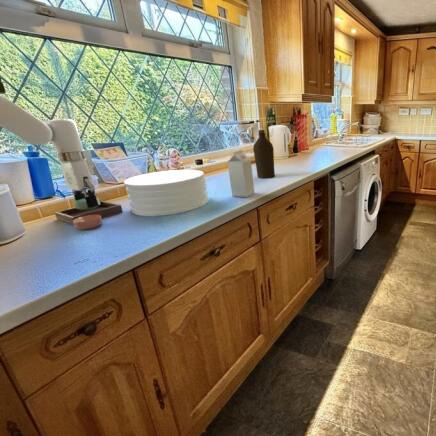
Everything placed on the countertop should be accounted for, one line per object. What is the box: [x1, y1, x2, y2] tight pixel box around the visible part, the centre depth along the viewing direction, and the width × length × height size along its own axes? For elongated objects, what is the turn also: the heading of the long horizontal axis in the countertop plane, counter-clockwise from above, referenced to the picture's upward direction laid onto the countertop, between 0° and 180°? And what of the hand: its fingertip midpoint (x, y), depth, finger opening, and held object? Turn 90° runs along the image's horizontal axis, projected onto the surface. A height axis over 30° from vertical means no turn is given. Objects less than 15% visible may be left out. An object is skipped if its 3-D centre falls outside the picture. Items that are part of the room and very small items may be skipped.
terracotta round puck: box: [73, 215, 104, 231], centre depth 100 cm, size 7×7×3 cm
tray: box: [54, 200, 124, 226], centre depth 111 cm, size 16×14×3 cm
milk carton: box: [227, 149, 255, 198], centre depth 129 cm, size 7×7×19 cm
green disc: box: [72, 196, 101, 210], centre depth 110 cm, size 7×7×3 cm
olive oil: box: [252, 129, 276, 179], centre depth 163 cm, size 11×11×25 cm
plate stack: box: [123, 169, 209, 217], centre depth 120 cm, size 28×28×12 cm
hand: (87, 205), depth 110 cm, fingers closed on green disc, 7 cm apart
